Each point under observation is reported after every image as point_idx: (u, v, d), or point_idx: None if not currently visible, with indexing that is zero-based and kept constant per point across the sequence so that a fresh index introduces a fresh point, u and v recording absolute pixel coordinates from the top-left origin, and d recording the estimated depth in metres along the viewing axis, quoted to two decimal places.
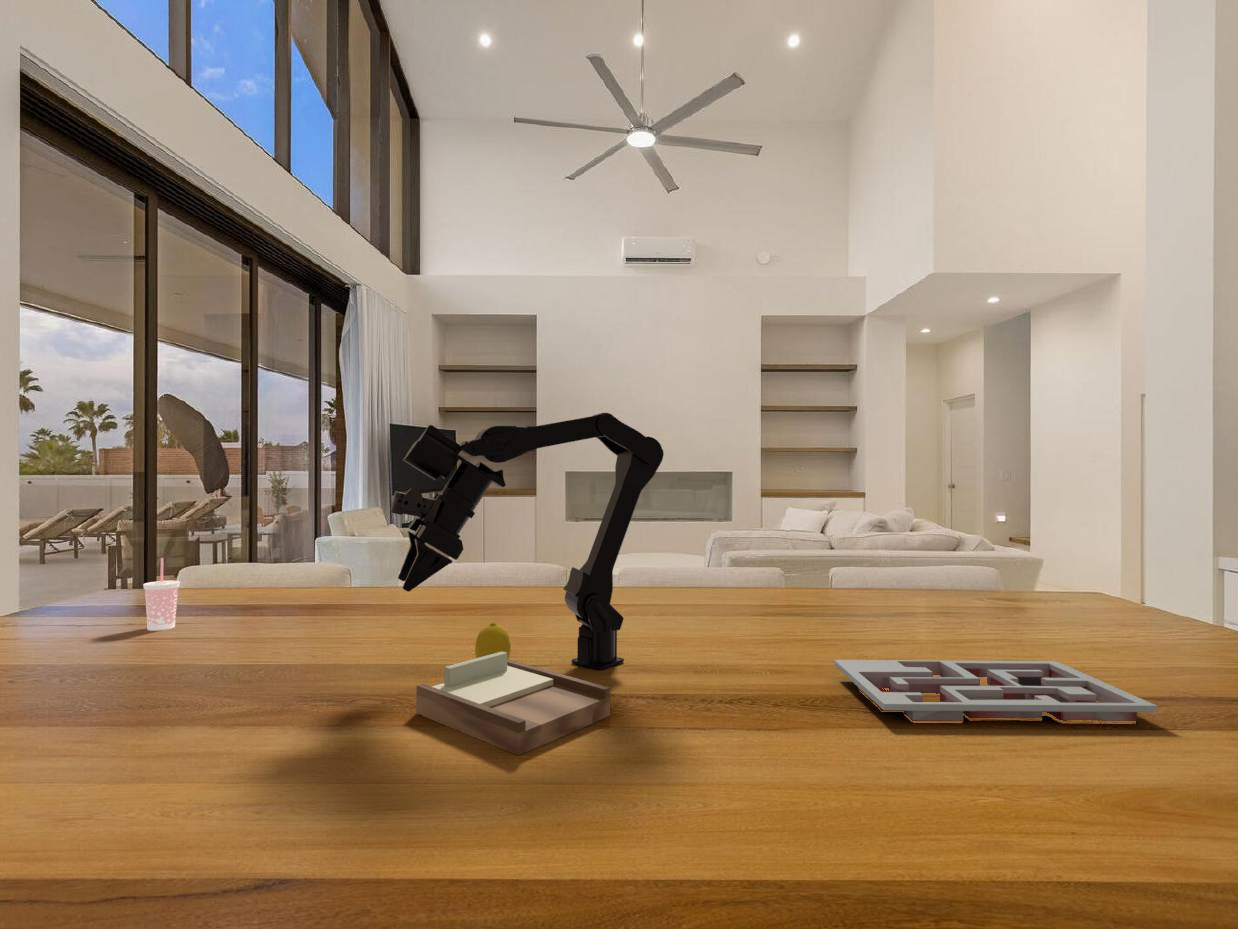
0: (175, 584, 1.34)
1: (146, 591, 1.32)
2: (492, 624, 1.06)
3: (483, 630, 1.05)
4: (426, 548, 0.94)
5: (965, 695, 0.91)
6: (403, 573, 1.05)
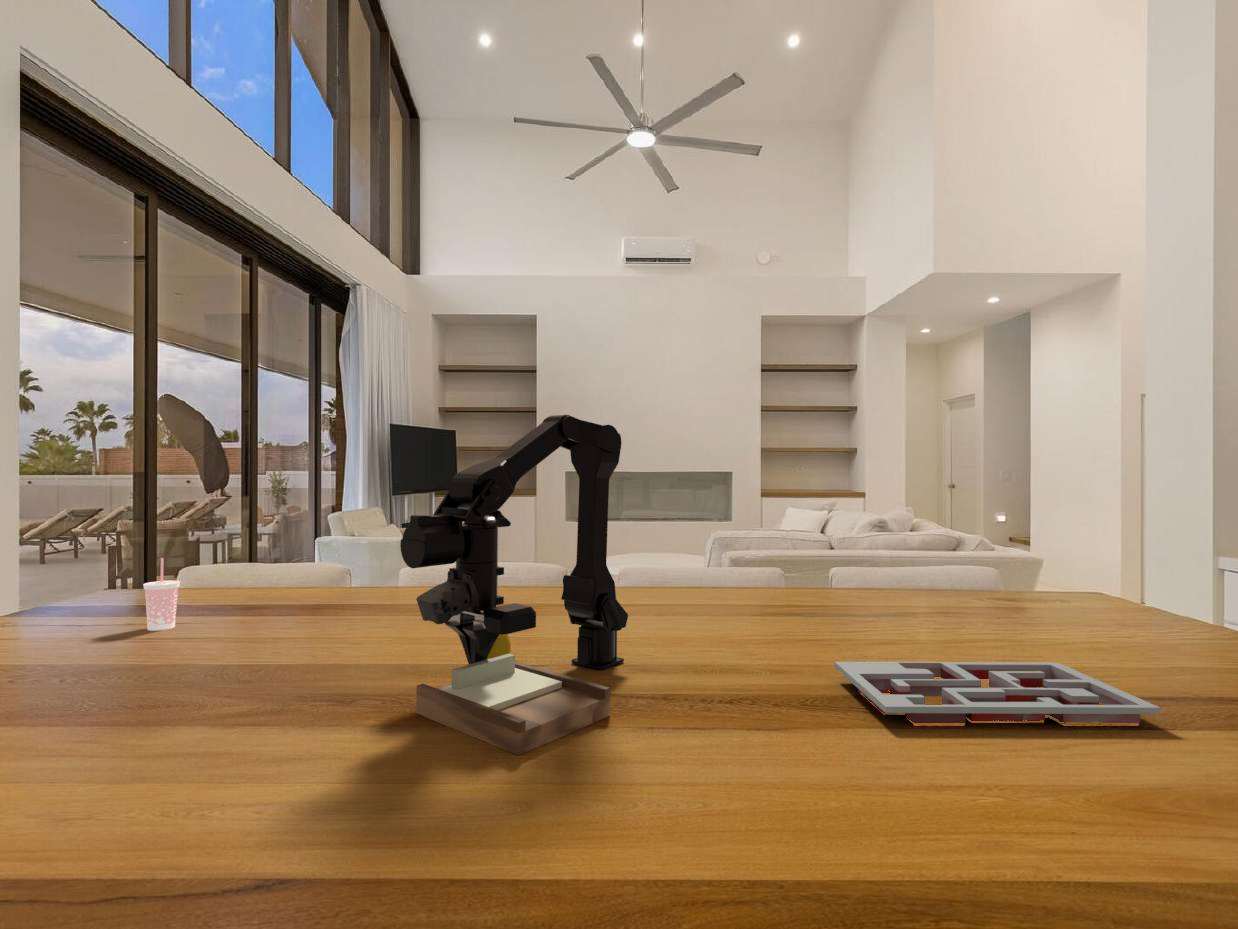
0: (175, 584, 1.34)
1: (146, 591, 1.32)
2: None
3: None
4: (485, 630, 0.90)
5: (967, 697, 0.90)
6: None
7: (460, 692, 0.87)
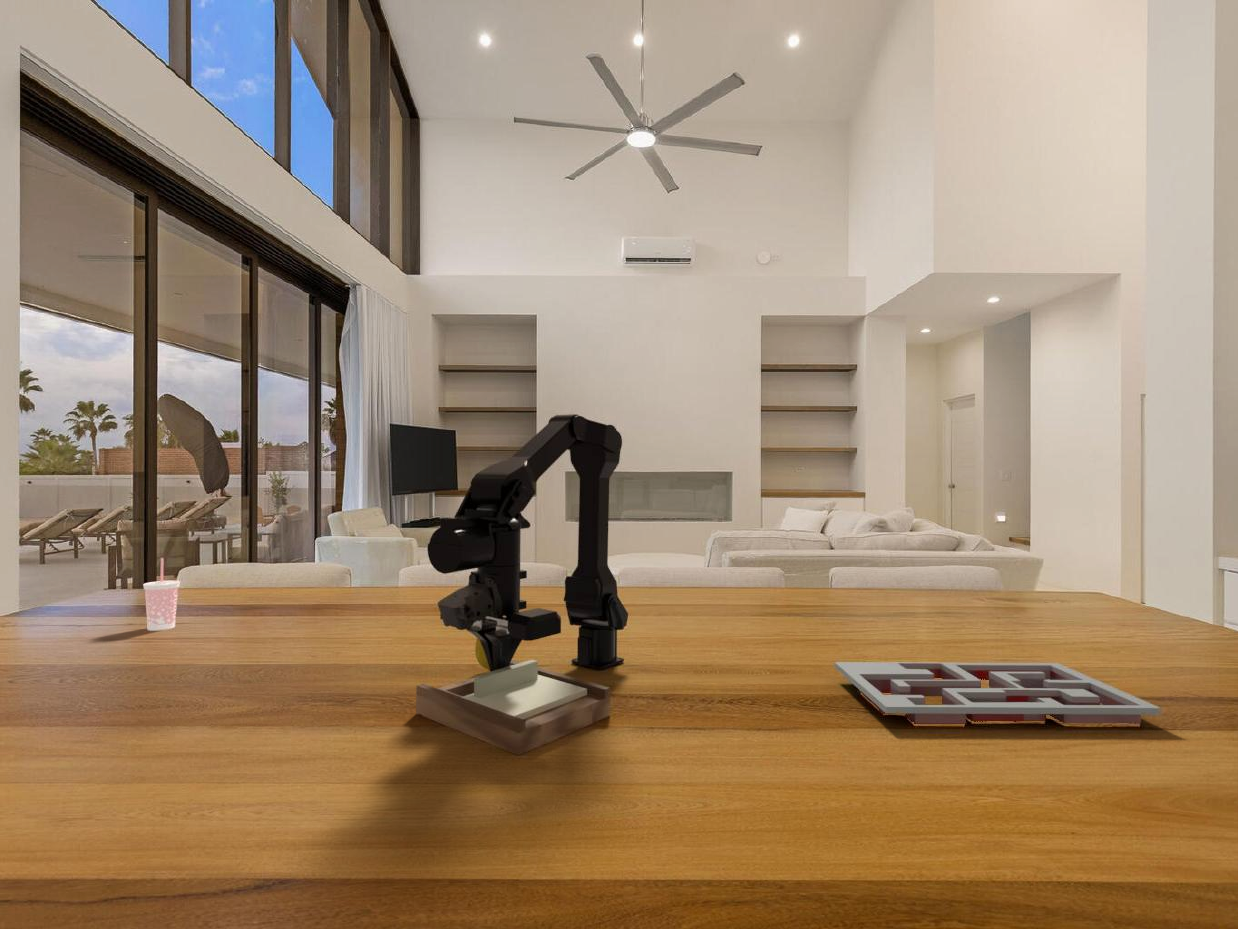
0: (175, 584, 1.34)
1: (146, 591, 1.32)
2: None
3: None
4: (508, 636, 0.87)
5: (967, 698, 0.90)
6: None
7: (483, 700, 0.84)
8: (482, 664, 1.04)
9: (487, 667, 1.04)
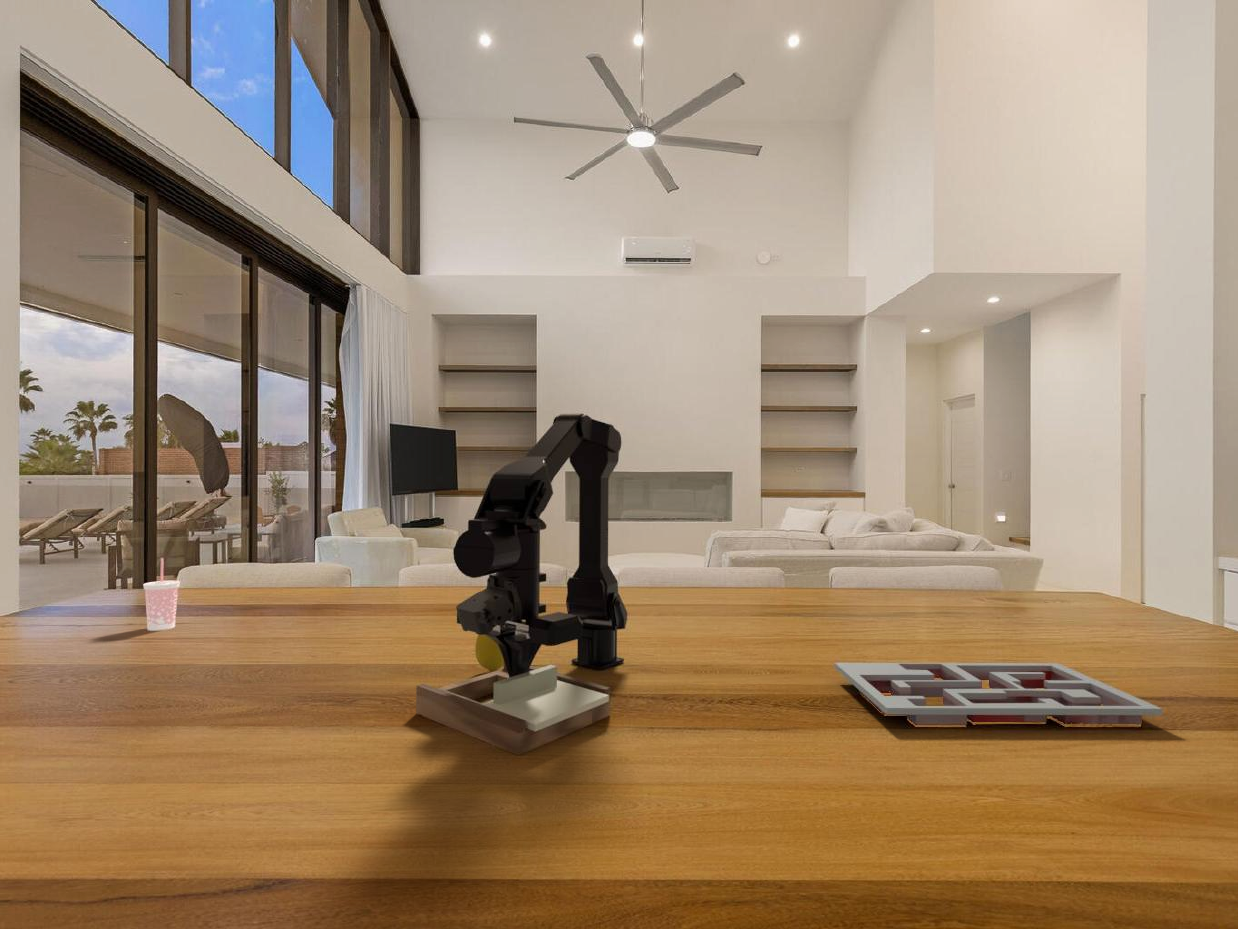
0: (175, 584, 1.34)
1: (146, 591, 1.32)
2: None
3: None
4: (529, 641, 0.85)
5: (968, 699, 0.90)
6: None
7: (503, 707, 0.81)
8: (482, 664, 1.04)
9: (487, 667, 1.04)
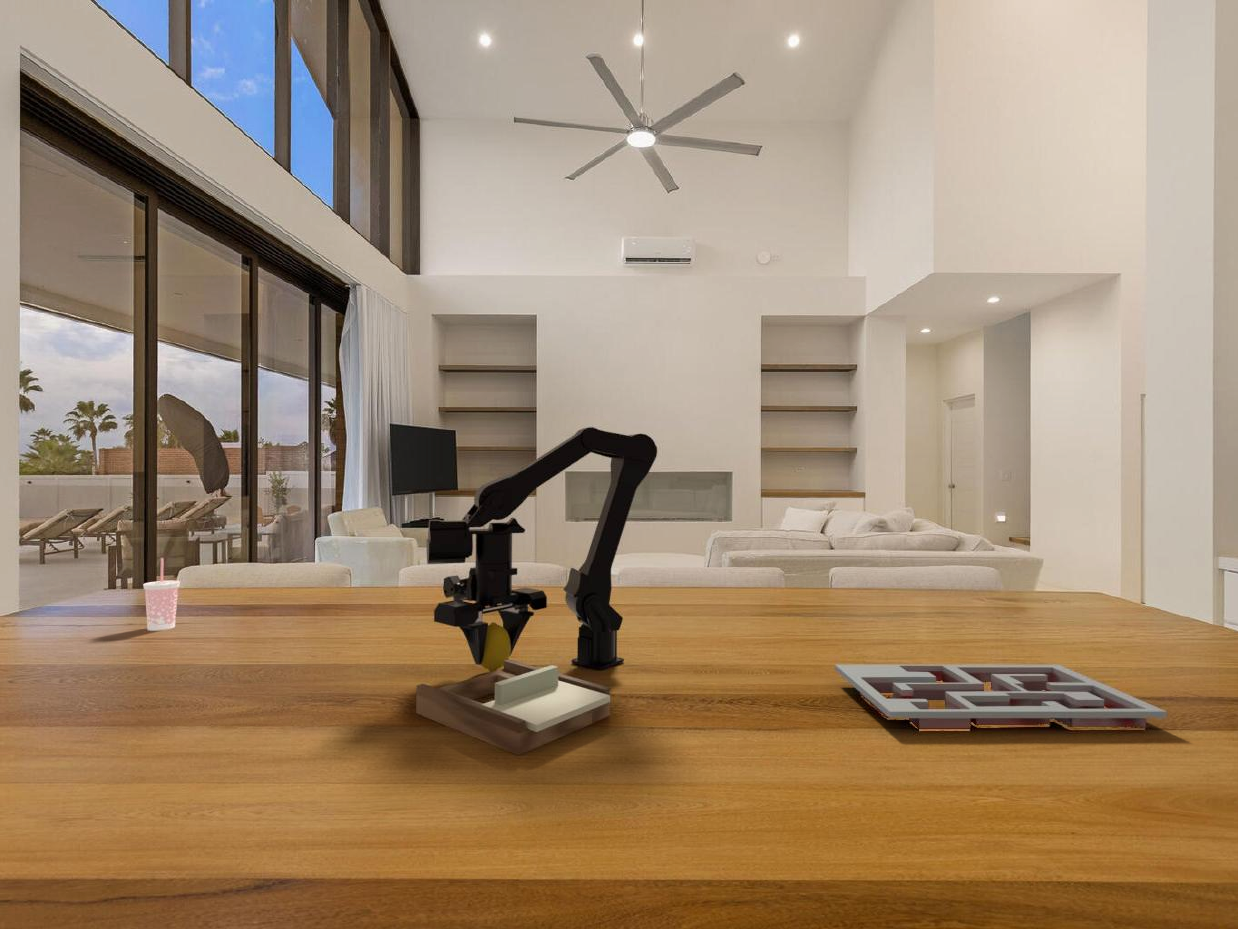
0: (175, 584, 1.34)
1: (146, 591, 1.32)
2: (492, 624, 1.06)
3: None
4: None
5: (971, 702, 0.89)
6: None
7: (504, 708, 0.81)
8: (482, 664, 1.04)
9: (487, 667, 1.04)
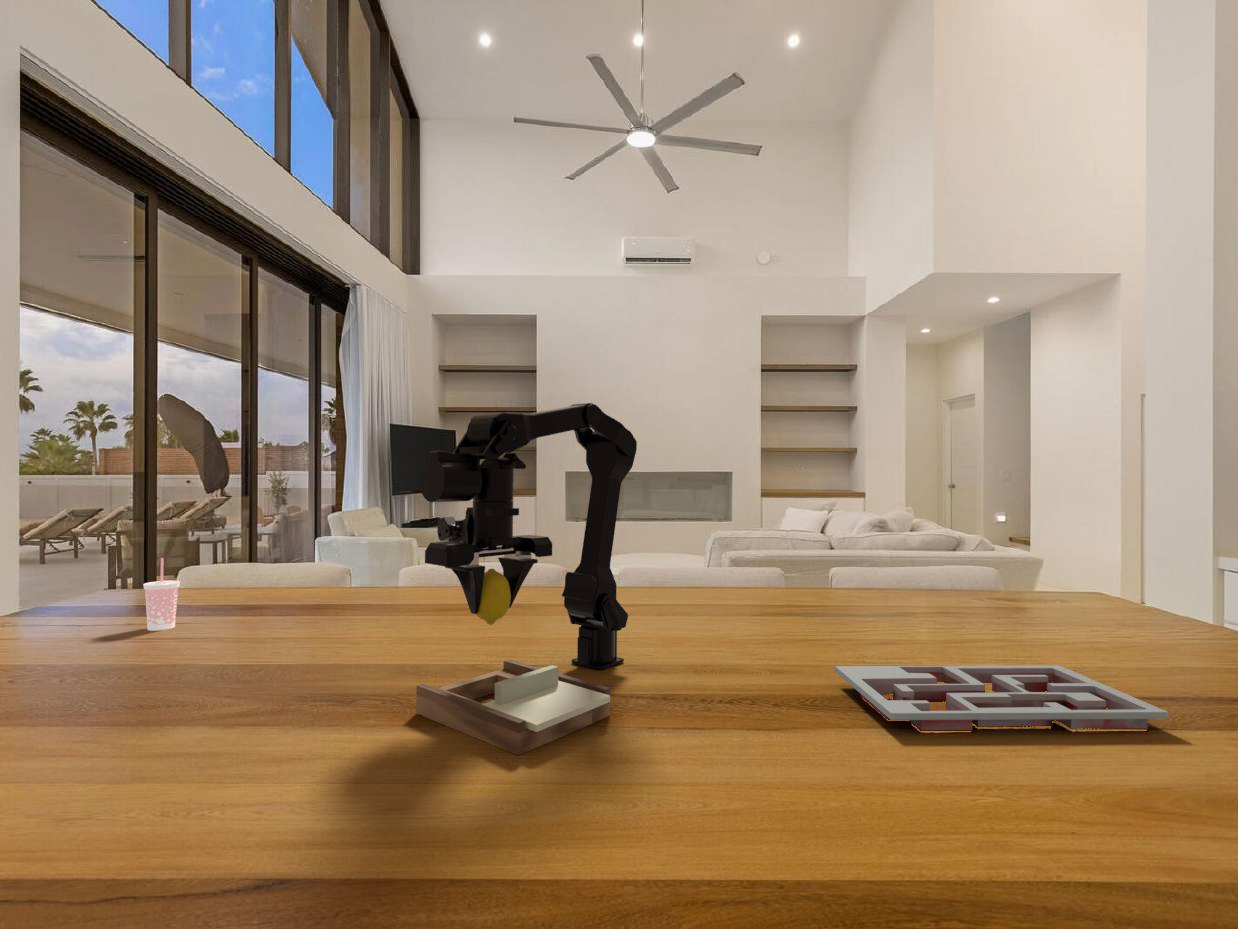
0: (175, 584, 1.34)
1: (146, 591, 1.32)
2: (490, 570, 0.95)
3: None
4: (448, 567, 0.91)
5: (972, 703, 0.88)
6: None
7: (504, 708, 0.81)
8: (478, 614, 0.93)
9: (484, 617, 0.93)
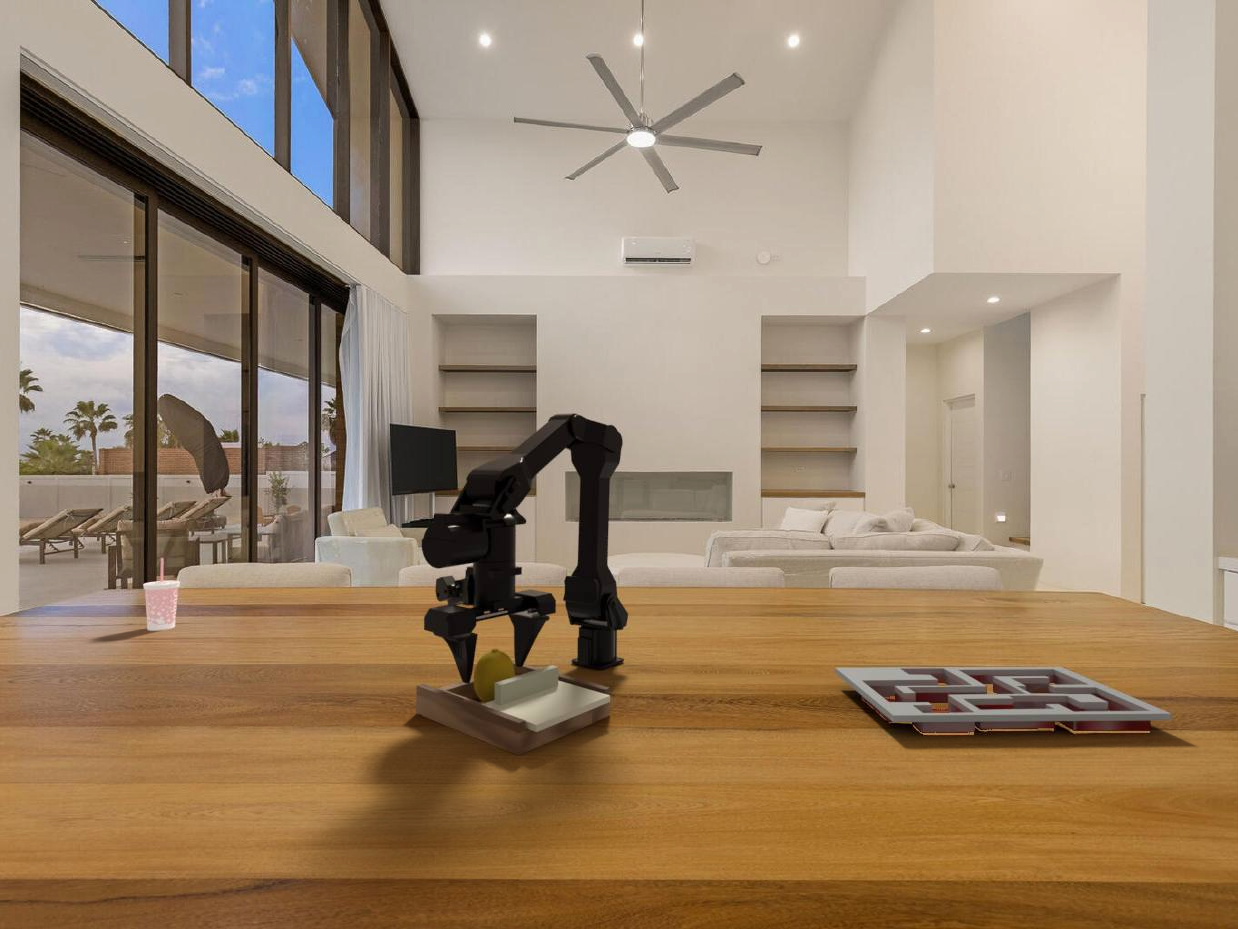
0: (175, 584, 1.34)
1: (146, 591, 1.32)
2: (494, 650, 0.90)
3: (483, 657, 0.90)
4: (438, 635, 0.85)
5: (974, 705, 0.88)
6: (516, 659, 0.94)
7: (504, 708, 0.81)
8: (481, 697, 0.89)
9: (487, 701, 0.89)
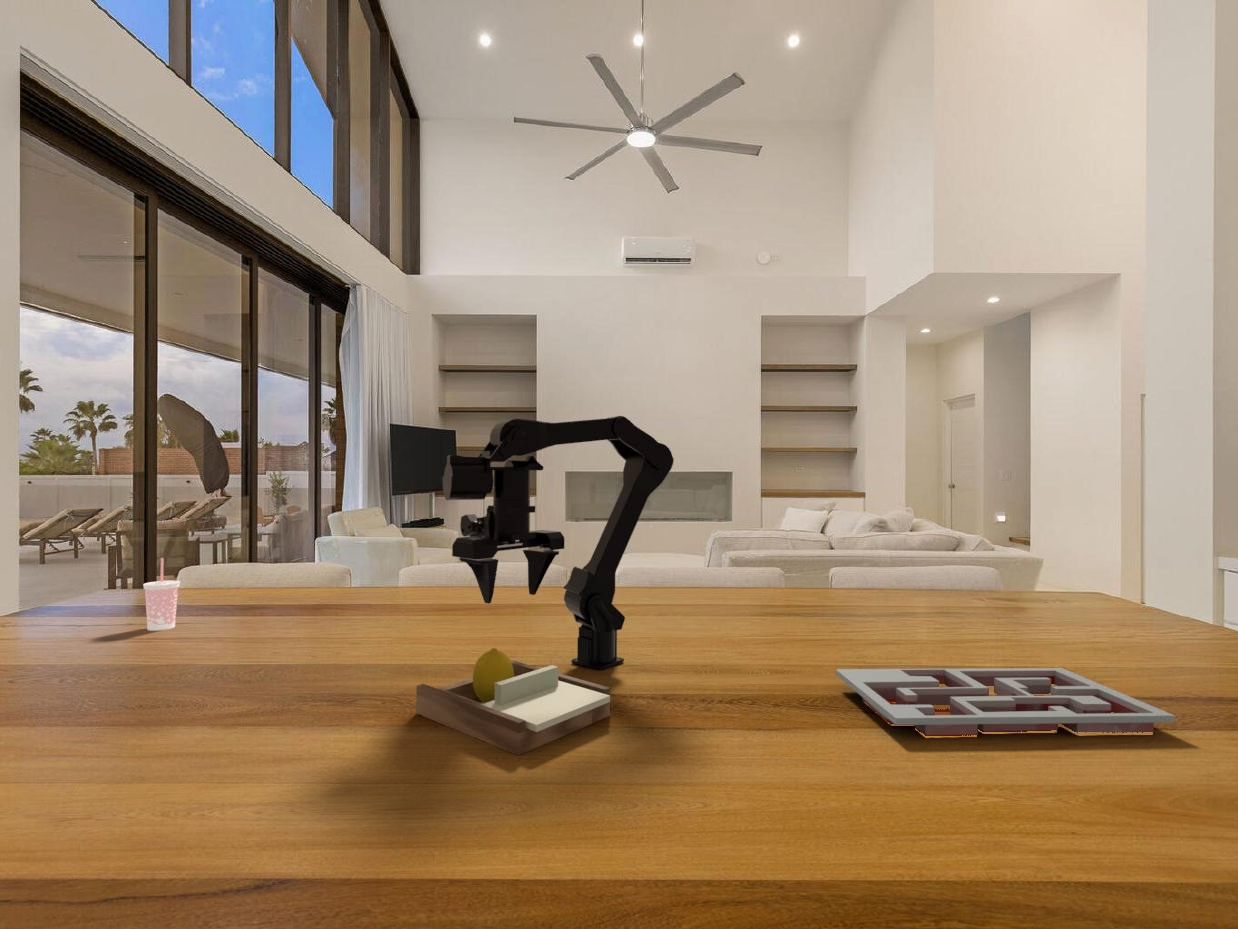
0: (175, 584, 1.34)
1: (146, 591, 1.32)
2: (493, 650, 0.91)
3: (482, 658, 0.90)
4: (464, 560, 1.00)
5: (976, 707, 0.87)
6: (530, 587, 1.09)
7: (504, 708, 0.81)
8: (481, 698, 0.89)
9: (487, 701, 0.89)
